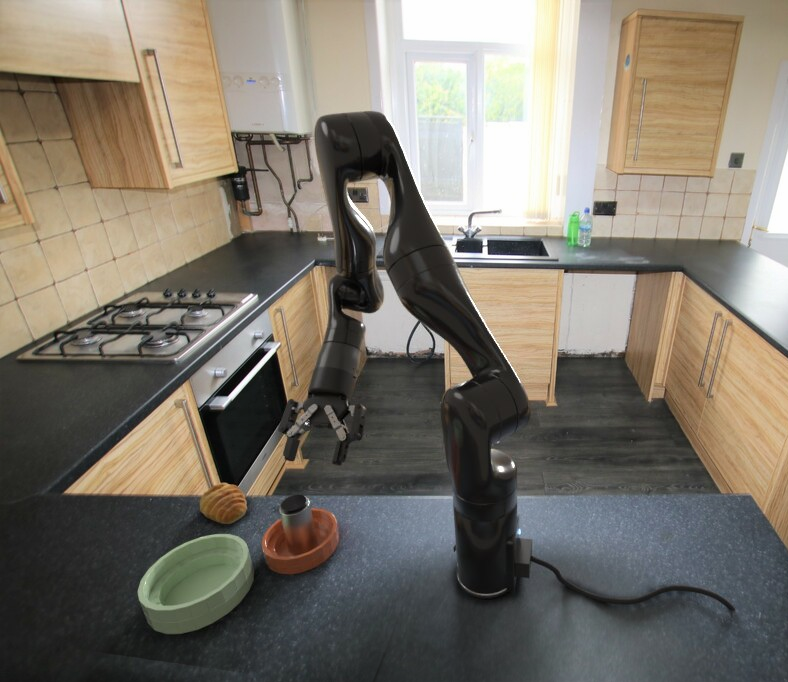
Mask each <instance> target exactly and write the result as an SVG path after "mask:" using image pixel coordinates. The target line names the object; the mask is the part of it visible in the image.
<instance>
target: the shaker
mask: <svg viewBox="0 0 788 682" xmlns="http://www.w3.org/2000/svg"><path fill="white" fill-rule="evenodd" d="M311 508H312V507H311V502H310V499H309V498H308V497H307V496H305V495H304V494H298V493H297V494H292V495H289V496H288V497H286V498H285V499H283V500H282V501H281V503H280V505H279V508H278V511H279V515H280V518H281V520H282V525H283V529H284V533H285V538H286V542H287V546H288V551H289V553H290V554H291V555H292V556H297V555H301V554H304V553H306V552H309V551H311V550H313V549H314V548H316V546H317V537H316V532H315V527H314V522H313V517H312V512H311Z"/></svg>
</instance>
